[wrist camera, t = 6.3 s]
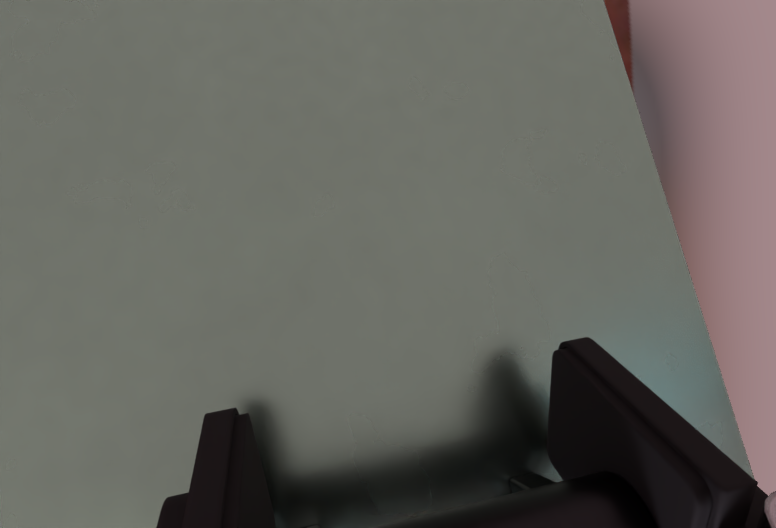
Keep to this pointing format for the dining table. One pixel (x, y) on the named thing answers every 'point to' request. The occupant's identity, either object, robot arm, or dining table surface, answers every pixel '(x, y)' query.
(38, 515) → the box lid
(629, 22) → the dining table surface
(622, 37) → the dining table surface
